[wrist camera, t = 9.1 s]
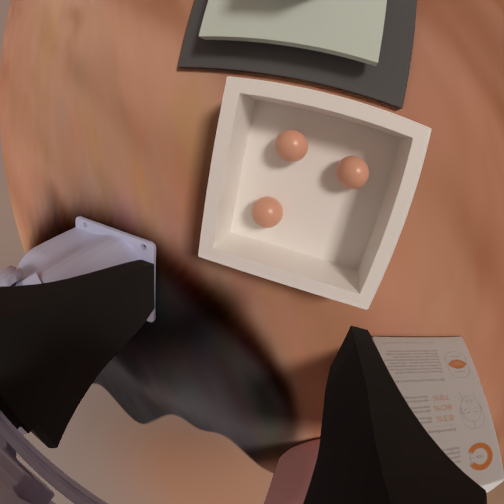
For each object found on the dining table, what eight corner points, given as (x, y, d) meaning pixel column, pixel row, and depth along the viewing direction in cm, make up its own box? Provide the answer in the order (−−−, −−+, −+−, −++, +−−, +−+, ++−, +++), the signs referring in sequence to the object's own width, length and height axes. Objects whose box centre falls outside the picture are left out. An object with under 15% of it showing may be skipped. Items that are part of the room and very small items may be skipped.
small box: (357, 388, 21) (341, 528, 10) (371, 333, 19) (368, 505, 7) (439, 388, 19) (454, 515, 7) (464, 334, 17) (508, 478, 5)
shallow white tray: (220, 236, 19) (197, 256, 16) (248, 87, 15) (227, 76, 12) (363, 280, 17) (367, 309, 14) (412, 130, 13) (431, 128, 10)
